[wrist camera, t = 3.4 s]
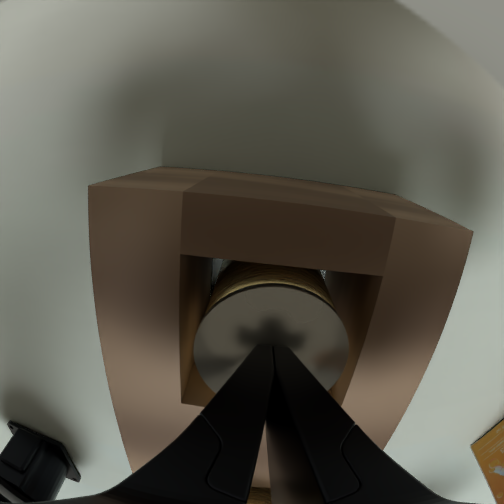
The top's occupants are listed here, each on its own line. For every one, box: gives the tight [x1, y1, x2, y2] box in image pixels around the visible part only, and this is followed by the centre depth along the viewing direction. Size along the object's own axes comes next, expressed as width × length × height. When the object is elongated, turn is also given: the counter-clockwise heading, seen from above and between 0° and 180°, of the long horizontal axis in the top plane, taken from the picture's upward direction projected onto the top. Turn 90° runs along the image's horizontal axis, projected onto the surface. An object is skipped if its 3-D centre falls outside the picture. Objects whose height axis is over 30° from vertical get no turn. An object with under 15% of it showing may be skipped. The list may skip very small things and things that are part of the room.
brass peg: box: [193, 259, 349, 393], centre depth 11 cm, size 4×4×6 cm
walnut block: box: [88, 167, 473, 488], centre depth 13 cm, size 18×10×6 cm, turn 174°
